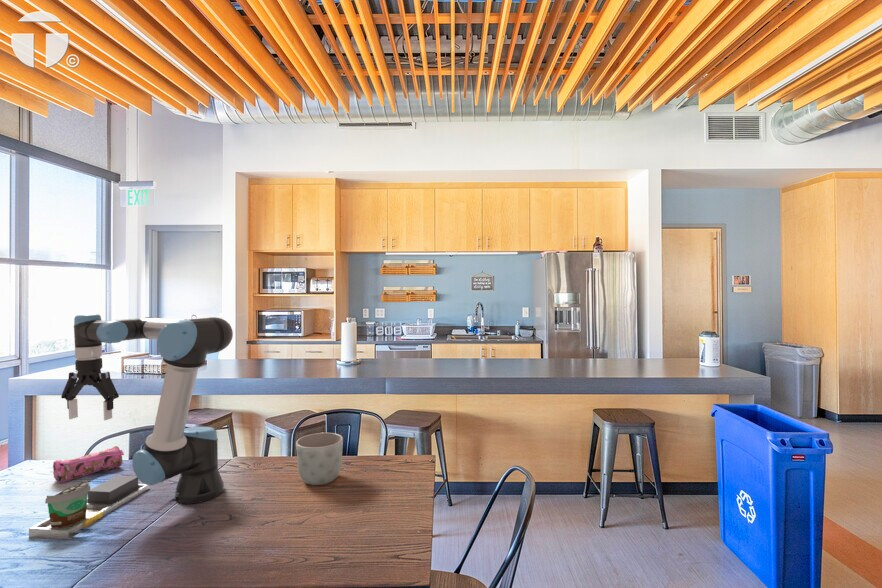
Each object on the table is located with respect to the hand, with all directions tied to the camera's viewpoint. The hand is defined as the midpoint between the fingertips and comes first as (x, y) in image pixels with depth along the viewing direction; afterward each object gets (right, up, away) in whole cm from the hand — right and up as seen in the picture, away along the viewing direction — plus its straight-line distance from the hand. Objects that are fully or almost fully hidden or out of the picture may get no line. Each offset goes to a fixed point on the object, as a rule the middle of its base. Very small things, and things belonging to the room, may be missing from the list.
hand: (90, 418), depth 162 cm
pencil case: (-14, -27, +18) cm, 35 cm away
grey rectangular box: (+12, -26, -5) cm, 29 cm away
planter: (+78, -26, +10) cm, 83 cm away
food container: (+10, -26, -20) cm, 34 cm away
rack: (+11, -27, -12) cm, 31 cm away
